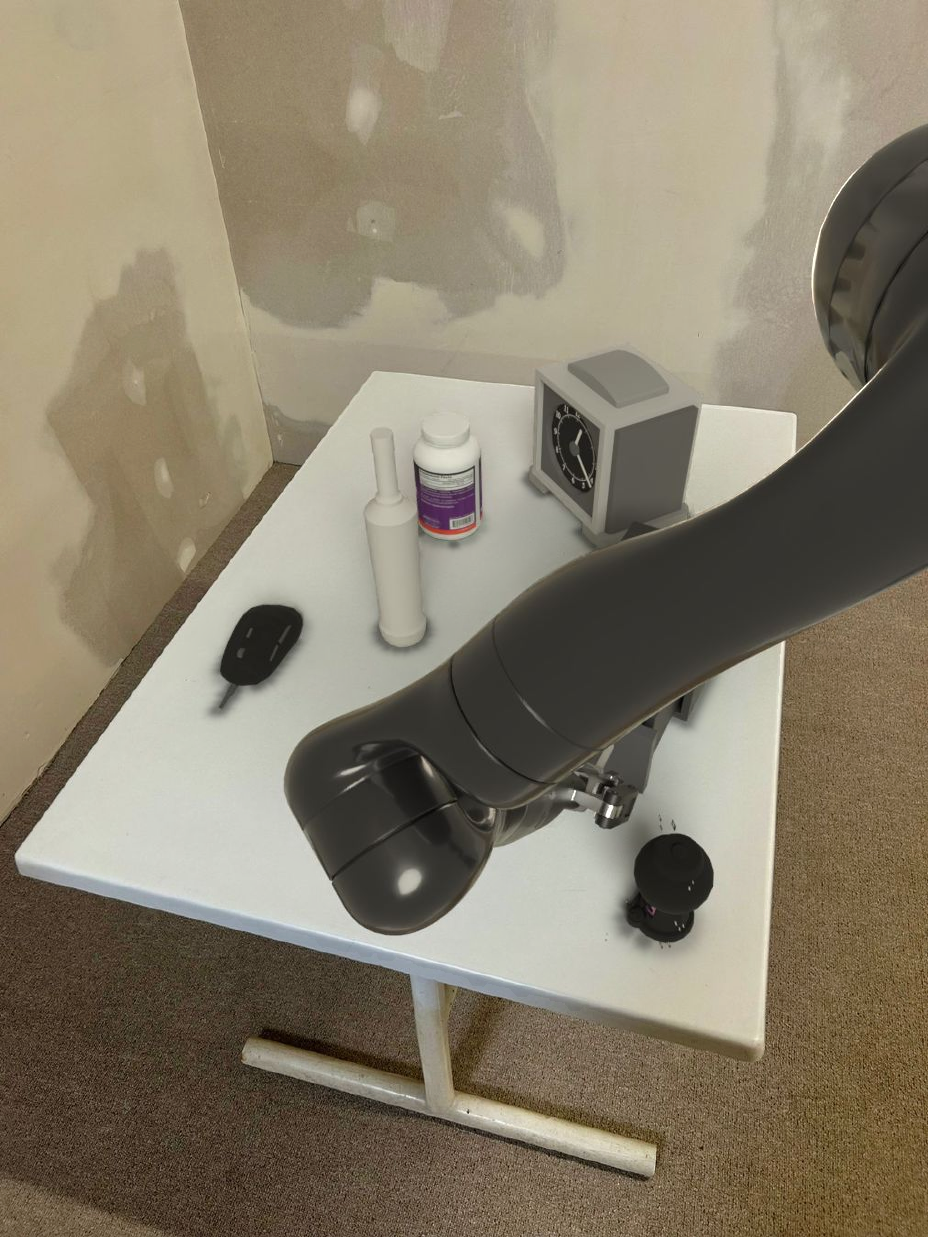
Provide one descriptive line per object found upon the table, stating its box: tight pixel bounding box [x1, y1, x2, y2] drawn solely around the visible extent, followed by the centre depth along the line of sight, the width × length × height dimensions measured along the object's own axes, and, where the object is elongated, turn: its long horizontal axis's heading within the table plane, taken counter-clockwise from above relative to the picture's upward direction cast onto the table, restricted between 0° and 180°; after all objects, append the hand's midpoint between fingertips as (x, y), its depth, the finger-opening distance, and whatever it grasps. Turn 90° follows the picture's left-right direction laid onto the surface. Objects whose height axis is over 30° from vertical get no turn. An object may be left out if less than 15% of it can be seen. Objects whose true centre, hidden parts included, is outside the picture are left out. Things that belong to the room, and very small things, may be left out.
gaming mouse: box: [218, 603, 304, 710], centre depth 91 cm, size 6×15×4 cm, turn 161°
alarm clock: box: [528, 341, 705, 549], centre depth 105 cm, size 18×13×18 cm
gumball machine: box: [625, 813, 715, 949], centre depth 67 cm, size 7×6×10 cm
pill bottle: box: [412, 411, 484, 541], centre depth 103 cm, size 8×8×14 cm
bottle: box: [362, 426, 427, 648], centre depth 86 cm, size 5×5×25 cm
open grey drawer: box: [574, 697, 681, 795], centre depth 80 cm, size 19×11×8 cm, turn 151°
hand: (563, 763), depth 71 cm, fingers open, 8 cm apart
